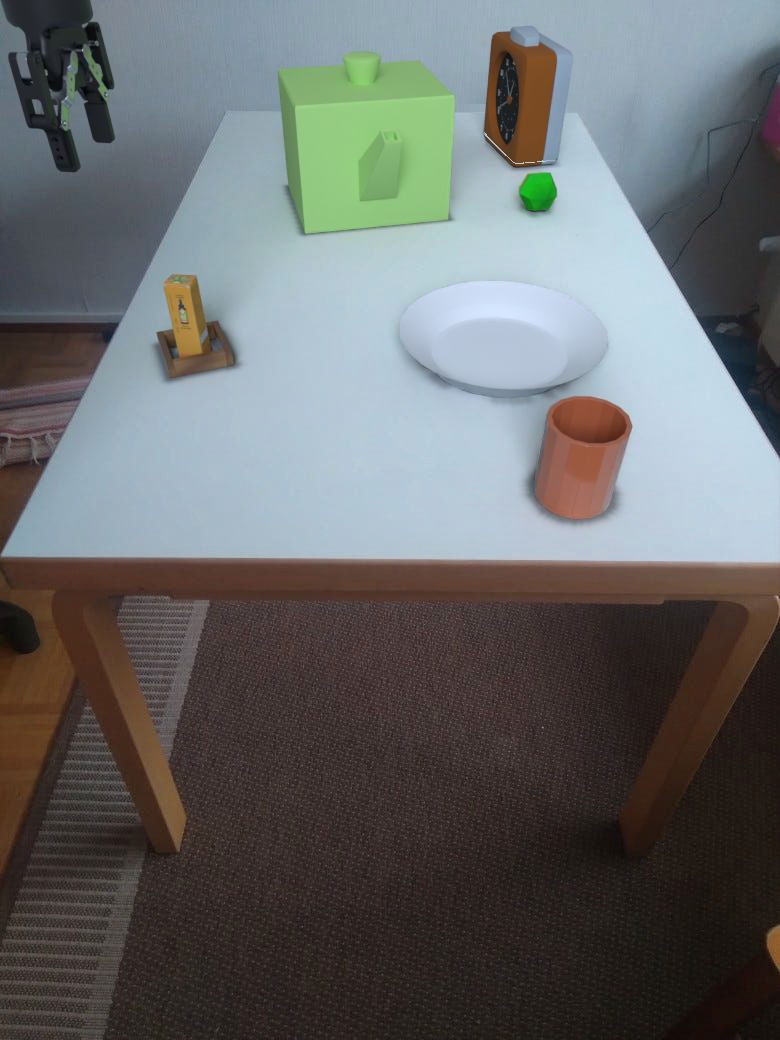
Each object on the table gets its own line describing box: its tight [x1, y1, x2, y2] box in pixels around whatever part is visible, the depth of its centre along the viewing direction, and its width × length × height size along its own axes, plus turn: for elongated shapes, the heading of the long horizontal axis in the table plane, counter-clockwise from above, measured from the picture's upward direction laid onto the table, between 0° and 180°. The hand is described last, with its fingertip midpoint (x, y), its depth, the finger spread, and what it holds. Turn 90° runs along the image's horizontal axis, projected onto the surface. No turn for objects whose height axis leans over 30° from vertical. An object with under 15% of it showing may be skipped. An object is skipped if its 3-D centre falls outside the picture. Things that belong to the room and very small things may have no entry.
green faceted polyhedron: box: [518, 171, 558, 211], centre depth 122 cm, size 7×6×9 cm
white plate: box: [398, 280, 609, 399], centre depth 90 cm, size 25×25×4 cm
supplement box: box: [162, 273, 212, 358], centre depth 87 cm, size 3×3×10 cm
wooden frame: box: [155, 319, 235, 379], centre depth 90 cm, size 8×8×2 cm
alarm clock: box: [483, 25, 574, 168], centre depth 135 cm, size 18×9×21 cm, turn 14°
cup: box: [533, 395, 633, 520], centre depth 70 cm, size 8×8×9 cm
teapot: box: [277, 50, 456, 235], centre depth 116 cm, size 24×35×22 cm
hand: (87, 155), depth 75 cm, fingers open, 8 cm apart
